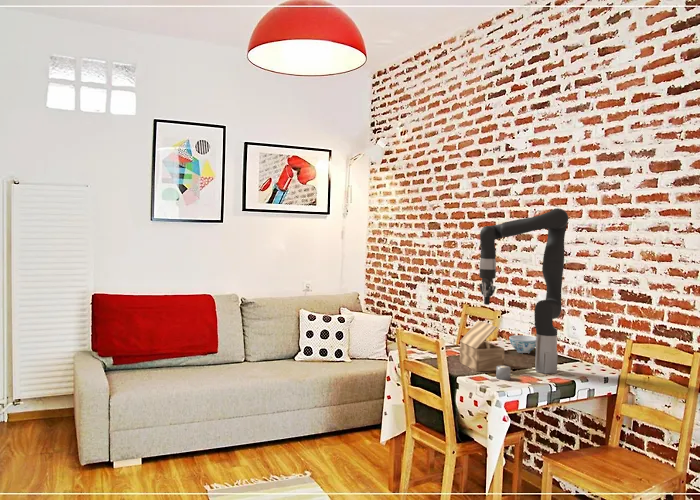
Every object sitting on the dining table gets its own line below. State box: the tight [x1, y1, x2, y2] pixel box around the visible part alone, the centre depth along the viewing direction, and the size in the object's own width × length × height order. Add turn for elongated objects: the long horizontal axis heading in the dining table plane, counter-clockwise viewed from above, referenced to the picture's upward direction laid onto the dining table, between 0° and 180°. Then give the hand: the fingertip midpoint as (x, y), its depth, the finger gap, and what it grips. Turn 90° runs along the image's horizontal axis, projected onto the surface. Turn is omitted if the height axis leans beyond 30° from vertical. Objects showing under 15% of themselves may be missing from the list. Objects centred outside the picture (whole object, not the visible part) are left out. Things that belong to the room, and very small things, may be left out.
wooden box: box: [459, 340, 505, 372], centre depth 288 cm, size 18×14×10 cm
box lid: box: [459, 319, 498, 349], centre depth 287 cm, size 18×14×1 cm
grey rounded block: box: [495, 365, 512, 381], centre depth 266 cm, size 6×6×5 cm
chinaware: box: [509, 334, 536, 354], centre depth 321 cm, size 15×15×8 cm
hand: (486, 304), depth 287 cm, fingers closed
